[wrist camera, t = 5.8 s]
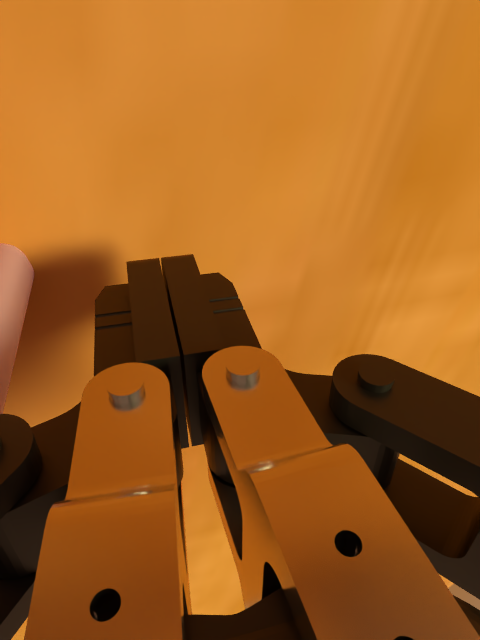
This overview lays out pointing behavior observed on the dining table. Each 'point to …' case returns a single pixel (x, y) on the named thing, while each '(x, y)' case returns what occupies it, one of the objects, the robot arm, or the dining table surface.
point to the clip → (12, 309)
